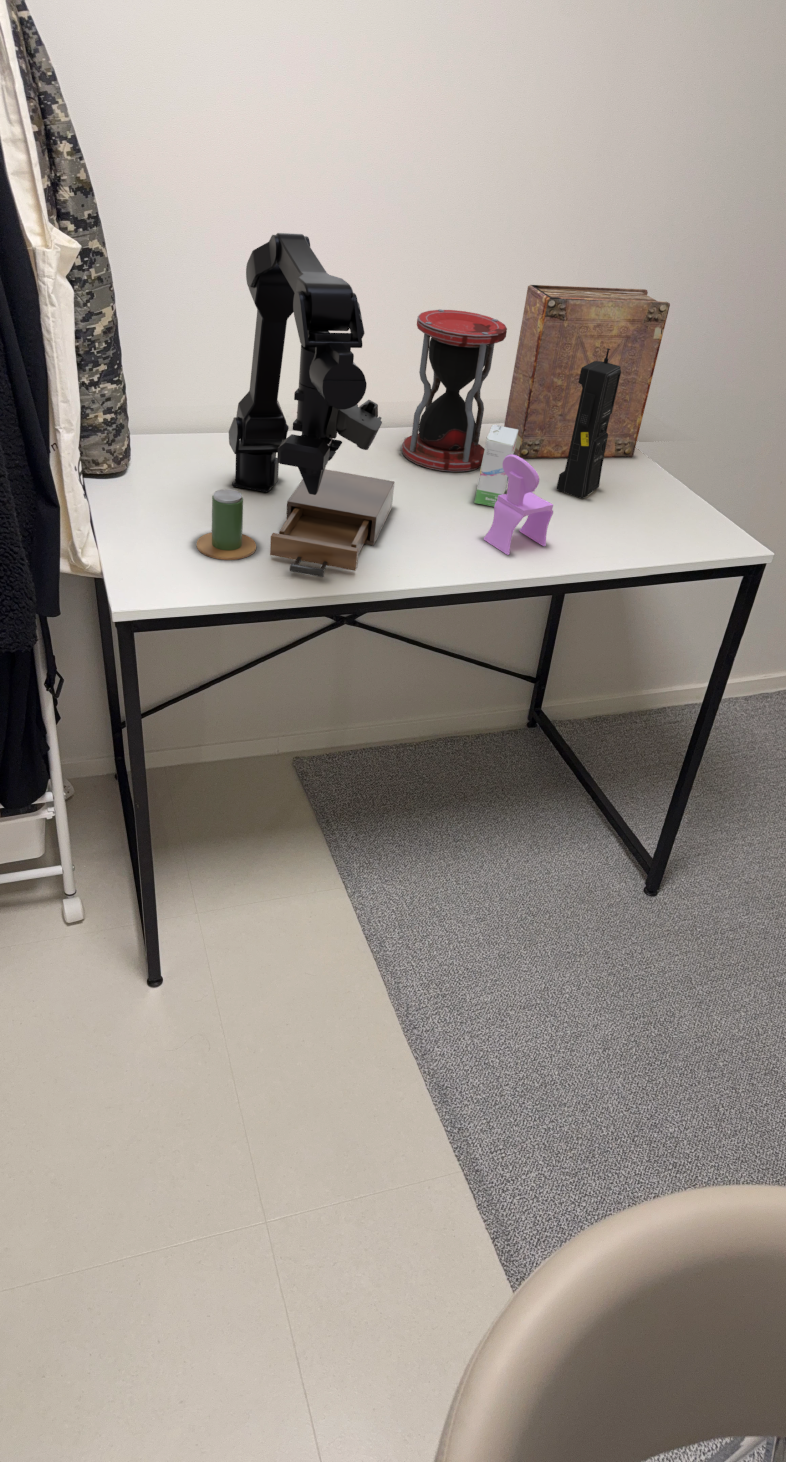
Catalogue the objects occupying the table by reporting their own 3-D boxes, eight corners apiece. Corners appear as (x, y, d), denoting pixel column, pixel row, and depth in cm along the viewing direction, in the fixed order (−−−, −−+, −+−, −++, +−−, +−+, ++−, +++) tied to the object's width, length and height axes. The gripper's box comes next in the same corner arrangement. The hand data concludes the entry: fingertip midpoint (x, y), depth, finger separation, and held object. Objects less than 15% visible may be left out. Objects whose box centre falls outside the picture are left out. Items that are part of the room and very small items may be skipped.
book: (612, 440, 218) (648, 289, 201) (633, 457, 211) (672, 302, 194) (500, 441, 211) (528, 284, 193) (518, 458, 204) (548, 297, 186)
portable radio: (583, 502, 189) (614, 362, 175) (553, 492, 192) (581, 353, 177) (599, 489, 195) (631, 353, 180) (570, 480, 197) (599, 345, 183)
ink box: (479, 486, 190) (490, 422, 183) (507, 491, 190) (519, 427, 183) (473, 503, 183) (484, 438, 176) (502, 509, 183) (514, 443, 176)
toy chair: (551, 548, 172) (570, 460, 163) (511, 557, 167) (529, 468, 159) (518, 527, 177) (535, 442, 168) (479, 536, 172) (494, 449, 164)
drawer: (349, 583, 153) (351, 562, 151) (262, 567, 154) (263, 546, 152) (374, 533, 168) (376, 513, 166) (294, 519, 169) (295, 499, 167)
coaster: (188, 553, 157) (188, 551, 156) (207, 529, 164) (207, 527, 164) (246, 564, 156) (246, 561, 156) (263, 539, 163) (263, 537, 163)
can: (236, 552, 158) (237, 503, 153) (207, 547, 158) (207, 497, 153) (245, 540, 161) (247, 491, 157) (217, 535, 162) (217, 486, 157)
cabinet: (373, 545, 165) (376, 517, 163) (285, 529, 167) (287, 501, 164) (391, 508, 178) (394, 481, 175) (309, 493, 179) (311, 466, 176)
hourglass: (430, 476, 191) (449, 336, 177) (386, 444, 202) (400, 310, 188) (501, 467, 199) (525, 332, 184) (455, 437, 210) (474, 307, 195)
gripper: (365, 414, 130) (354, 530, 139) (392, 373, 145) (381, 479, 154) (278, 400, 131) (273, 515, 140) (315, 360, 146) (308, 466, 155)
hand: (313, 493), depth 147 cm, fingers closed
